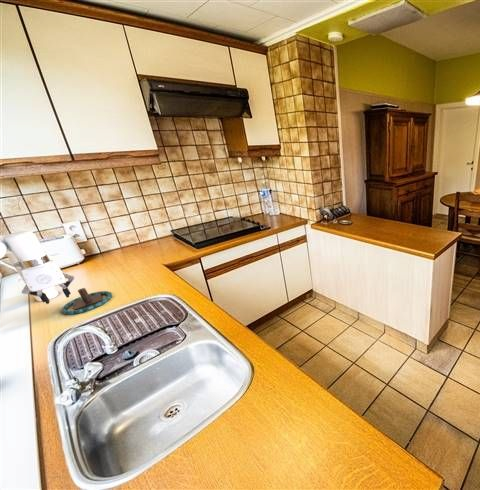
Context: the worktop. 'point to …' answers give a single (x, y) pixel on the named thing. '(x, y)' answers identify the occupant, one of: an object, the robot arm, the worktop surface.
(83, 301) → the stand
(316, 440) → the worktop surface
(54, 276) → the robot arm
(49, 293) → the cylindrical container
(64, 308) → the ring
